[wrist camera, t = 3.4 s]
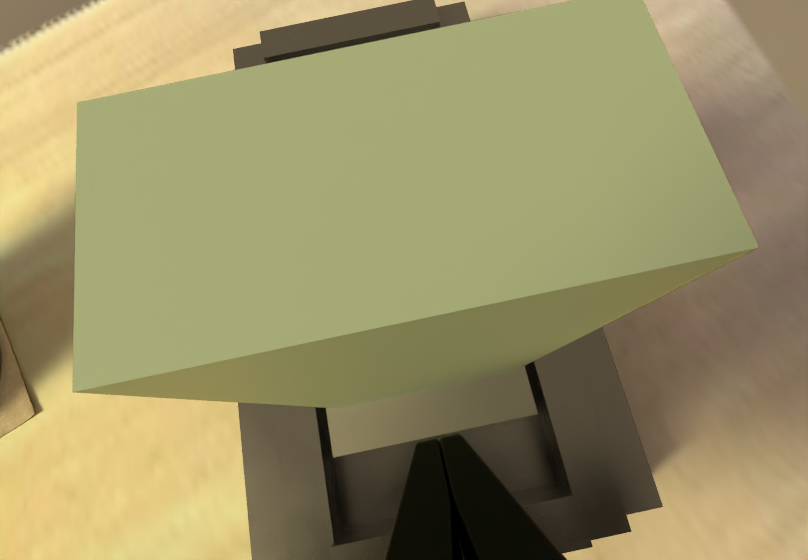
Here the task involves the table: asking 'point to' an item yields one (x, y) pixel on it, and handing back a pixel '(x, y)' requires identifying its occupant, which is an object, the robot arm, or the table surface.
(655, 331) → the table surface
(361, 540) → the rail
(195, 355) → the fader tab
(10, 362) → the condiment
